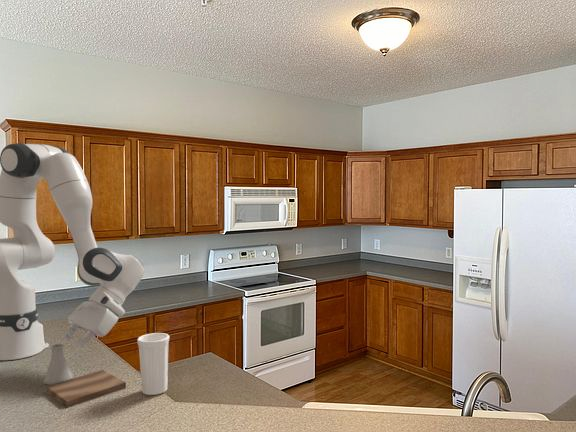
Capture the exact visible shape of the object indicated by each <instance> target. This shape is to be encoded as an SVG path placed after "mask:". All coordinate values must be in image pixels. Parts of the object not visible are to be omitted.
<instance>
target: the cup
mask: <svg viewBox="0 0 576 432" xmlns="http://www.w3.org/2000/svg"><path fill="white" fill-rule="evenodd" d="M136 341H137V346H138V351H139V352H138V353H139V366H140V375H141V376H140V377H141V379H140V380H141V391H142V394H145V395H147V396H154V395H160V394H163V393H164V392H167V390H168V382H169V381H168V375H169V369H168V368H169V342H170V335H169V334H168V333H164V332H153V333H146V334H143V335H141V336H138V338H137V340H136Z"/></svg>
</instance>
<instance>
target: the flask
mask: <svg viewBox="0 0 576 432" xmlns="http://www.w3.org/2000/svg"><path fill="white" fill-rule="evenodd" d="M49 347H50V350H51V358H50V361H49V365H48V368H47V370H46V371H47V372H46V374H45V376H44V379H43V381H42V382H43V384H45V385H46V386H49V385H52V384H56V383H59V382H63V381H66V380H69V379H73V378H74V375H73V373H72V371H71V369H70V366H69V365H68V362H67V360H66V358H65V354H64V347H65V344H63V343H57V344H53V345H51V346H49Z"/></svg>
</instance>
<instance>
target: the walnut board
mask: <svg viewBox="0 0 576 432" xmlns="http://www.w3.org/2000/svg"><path fill="white" fill-rule="evenodd" d="M125 389H127V383H126V381H124V380H122V379H120V378H118V377H116V376H115V375H113V374H111V373H110V372H107V371H105V370H103V369H101V370H97V371H94V372H89V373H86V374H83V375H81V376H77V377H73V378H72V379H69V380H66V381H63V382H59V383H56V384H52V385H46V393H47V394H48V395H50V396H52V398H54V399H55V400H56V401H58V402H59V403H61V405H63V406H64V407H66V408H70V407H74V406H76V405H79V404H82V403H85V402H88V401H92V400H94V399H97V398H101V397H103V396H107V395H109V394H112V393H116V392H118V391H121V390H125Z"/></svg>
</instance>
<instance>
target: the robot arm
mask: <svg viewBox="0 0 576 432" xmlns="http://www.w3.org/2000/svg"><path fill="white" fill-rule="evenodd" d="M0 166H1V172H0V224H2V225H3V226H5V227H7V228H10V229H11V230H12V232H13V233H12V234H13V237H6V238H5V237H4V238H0V361H12V360H19V359H25V358H27V357H28V358H29V357H31V356H35V355H38V354H39V353H41V352H42V351H43V350H45V349H47V348H49V347H50V344H49V343H48V342H45V337H44V326H43V324H42V323H40V322H39V321H38V316H39V313H38V309H37V305H36V304H37V303H36V288H35V287H34V285H33V284H32V283H30V282H29V281H27V280H22V279H21V278H20V277H19V273H18V271H20V270H29V269H35V268H39V267H42V266H46V265H48V264H50V263H52V261H53V260H54V258H55V255H56V254H55V253H56V248H55V244H54V243H53V241H52V240H51V239H50V238H48V237H47V236H46V235H45V234H44V233H43V232H42V231H41V228H40V227H39V225H38V221H37V197H38V196H37V193H38V192H37V189H38V183H40V181H41V180H43V179H44V180H46V184H47V185H48V188H49V191H50V194H51V197H52V199H53V202H54V203H55V205H56V207H57V209H58V211H59V213H60V215H61V217H62V218H63V220H64V222H65V224H66V226H67V228H68V230H69V233H70V235H71V239H72V242H73V244H74V248H75V250H76V253H77V258H78V262H77V270H76V271H77V276H78V278H79V279H80V281H81V282H82V283H83V284H85V285H88V286H91V287H95V286H98V287H97V288H96V290H95V291H94V292H93V293H92V294H91V295H90V296H89V298H88V300H87V301H83V302H82V303H80V305H78V306H77V307H76V308H75V310H74V311H72V313H71V314H70V315H69V316H68V318H67V322H68V323H69V326H68V329H67V331H66V333H65V334H64V335H63V339H64V340H66V341H67V342H70V341H72V339H73V338H74V334H75V332H77V331H78V330H79V329H80V330H83V331H85V332H86V333H85V335H84V336H83V337H82V338H79V339H78V340H77V342H76V346H78V347H80V348H84V347H85V346H86V345H87V343H89V342H90V341H92V340H93V339H94V338H95V337H96V336H97V337H99V338H103V337H105V336H107V334H109V332H110V331H111V330H112V329H113V328H114V326H115V325H116V324H117V323H118V320H119V318H122V317H123V316H124V314H125V312H126V310H125V309H124V307H123V304H124V303H125V300H126V299H127V297H128V295H130V294H131V293H132V292H133V291H134V290H135V288H136V287H137V286H138V284H139V283H140V282H141V280H142V278H143V276H144V274H145V267H144V265H143V264H142V262H141V261H140V260H139V259H138V258H137V257H136V256H134V255H132V254H123V253H117V252H114V251H111V250H108V249H107V248H104V247H98V245H97V242H96V238H95V234H94V232H93V229H92V225H91V215H92V208H93V197H92V196H93V194H92V191H91V186H90V184H89V181H88V179H87V177H86V174H85V172H84V170H83V168H82V166H81V165H80V163H79V161H78V160H77V158H76V157H75V156H74V154H71V153H70V152H69V151H68V150H66V149H64V148H62V147H61V146H56V145H55V146H54V145H49V144H43V143H21V142H17V143H16V142H15V143H10V144H8V145H6V146H4V147H3V148H2V149H1V152H0Z"/></svg>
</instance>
